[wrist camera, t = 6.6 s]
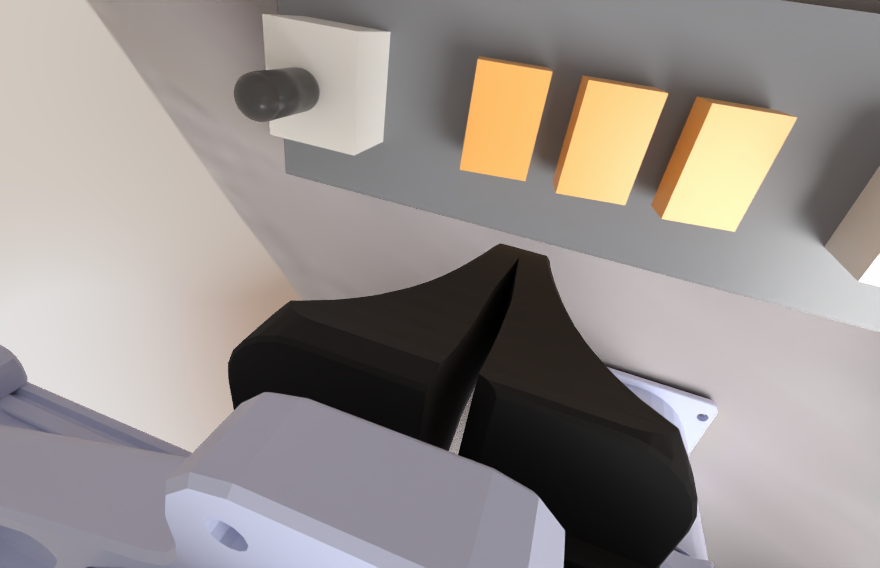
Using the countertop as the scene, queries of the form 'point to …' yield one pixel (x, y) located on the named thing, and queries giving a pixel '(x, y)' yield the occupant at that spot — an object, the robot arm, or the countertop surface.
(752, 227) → the power strip
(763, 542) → the countertop surface
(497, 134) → the switch
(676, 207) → the switch
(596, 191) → the middle switch
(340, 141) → the left plug
